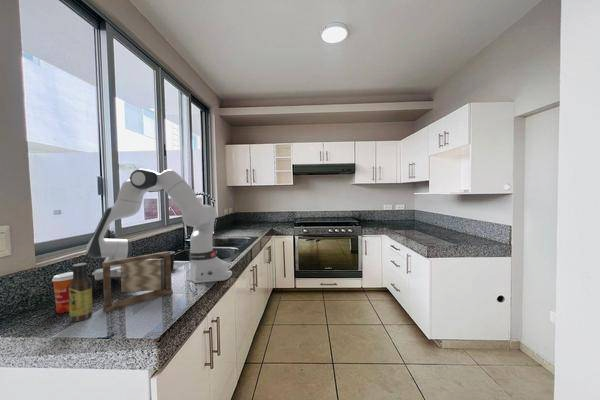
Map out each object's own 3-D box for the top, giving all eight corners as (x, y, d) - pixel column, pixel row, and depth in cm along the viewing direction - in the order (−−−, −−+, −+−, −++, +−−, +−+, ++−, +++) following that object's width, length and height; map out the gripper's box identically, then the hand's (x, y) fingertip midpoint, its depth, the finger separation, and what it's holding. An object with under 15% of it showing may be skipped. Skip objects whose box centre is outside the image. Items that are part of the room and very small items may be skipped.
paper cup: (48, 312, 94) (46, 276, 94) (72, 304, 101) (71, 270, 101) (60, 316, 91) (59, 278, 91) (84, 307, 99) (83, 272, 98)
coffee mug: (178, 268, 150) (178, 251, 150) (167, 272, 142) (167, 255, 142) (162, 267, 153) (162, 251, 153) (151, 271, 145) (150, 254, 145)
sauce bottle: (68, 318, 89) (66, 264, 89) (90, 312, 94) (89, 260, 93) (71, 324, 85) (69, 267, 85) (94, 317, 90) (92, 263, 89)
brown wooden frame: (168, 289, 115) (166, 250, 115) (172, 293, 111) (171, 252, 111) (103, 307, 98) (101, 261, 97) (106, 312, 94) (104, 264, 93)
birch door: (165, 289, 112) (164, 258, 112) (162, 291, 109) (161, 260, 108) (123, 290, 111) (122, 259, 111) (118, 293, 108) (117, 261, 108)
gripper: (91, 266, 116) (95, 272, 106) (141, 257, 131) (149, 261, 121) (91, 279, 116) (96, 286, 107) (141, 269, 131) (149, 274, 122)
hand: (125, 273), depth 114 cm, fingers closed
